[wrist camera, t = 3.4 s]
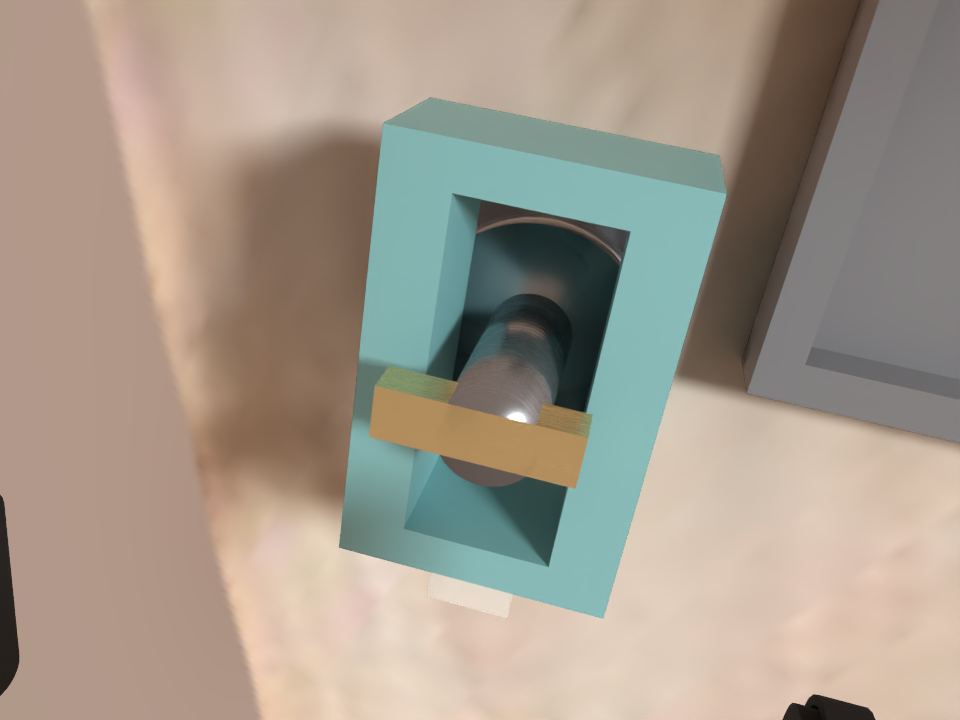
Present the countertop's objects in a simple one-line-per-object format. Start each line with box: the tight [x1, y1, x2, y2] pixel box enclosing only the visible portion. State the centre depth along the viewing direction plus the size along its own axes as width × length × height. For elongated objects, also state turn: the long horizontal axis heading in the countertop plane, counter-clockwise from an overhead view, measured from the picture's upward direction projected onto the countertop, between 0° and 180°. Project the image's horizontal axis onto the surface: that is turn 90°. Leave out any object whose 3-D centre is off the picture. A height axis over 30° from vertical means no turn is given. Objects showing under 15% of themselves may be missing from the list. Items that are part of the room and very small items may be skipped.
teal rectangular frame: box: [339, 97, 727, 618], centre depth 17 cm, size 10×6×3 cm, turn 171°
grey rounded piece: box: [369, 199, 628, 489], centre depth 18 cm, size 6×6×8 cm
